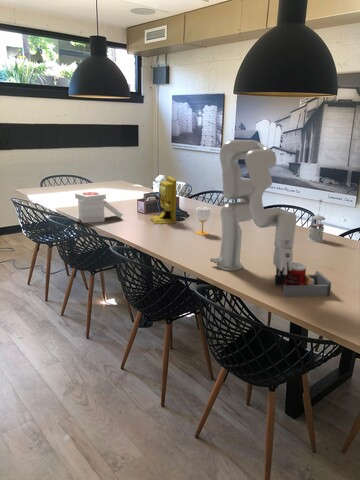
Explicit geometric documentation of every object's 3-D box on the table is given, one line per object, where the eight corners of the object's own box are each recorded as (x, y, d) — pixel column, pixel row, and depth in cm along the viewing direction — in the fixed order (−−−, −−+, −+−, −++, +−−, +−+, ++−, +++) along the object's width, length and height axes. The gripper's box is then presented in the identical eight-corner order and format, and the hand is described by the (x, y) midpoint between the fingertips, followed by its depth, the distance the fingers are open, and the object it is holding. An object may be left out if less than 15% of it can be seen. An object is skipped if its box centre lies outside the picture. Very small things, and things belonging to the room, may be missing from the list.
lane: (283, 296, 160) (285, 283, 158) (273, 284, 172) (275, 271, 170) (329, 295, 162) (331, 282, 160) (316, 283, 173) (318, 271, 172)
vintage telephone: (147, 215, 287) (147, 174, 278) (165, 214, 291) (165, 174, 282) (157, 226, 258) (158, 181, 249) (177, 225, 262) (178, 181, 253)
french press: (305, 240, 236) (310, 199, 229) (309, 236, 246) (314, 196, 239) (322, 243, 232) (328, 201, 225) (325, 238, 242) (331, 198, 235)
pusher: (307, 294, 162) (309, 278, 160) (298, 285, 171) (300, 270, 169) (316, 294, 163) (318, 278, 161) (307, 285, 171) (309, 270, 169)
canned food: (299, 286, 171) (302, 262, 167) (305, 294, 163) (309, 269, 160) (282, 286, 170) (284, 262, 167) (287, 293, 163) (290, 269, 159)
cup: (204, 236, 240) (205, 210, 235) (192, 233, 245) (193, 208, 240) (212, 233, 247) (213, 208, 242) (200, 230, 252) (201, 206, 247)
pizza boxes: (123, 220, 271) (123, 194, 266) (79, 223, 260) (78, 197, 255) (117, 214, 288) (116, 190, 283) (75, 217, 277) (74, 192, 272)
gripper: (300, 248, 153) (294, 291, 158) (286, 236, 167) (281, 276, 172) (281, 248, 152) (276, 291, 157) (269, 237, 166) (265, 277, 172)
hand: (279, 283), depth 165 cm, fingers closed
